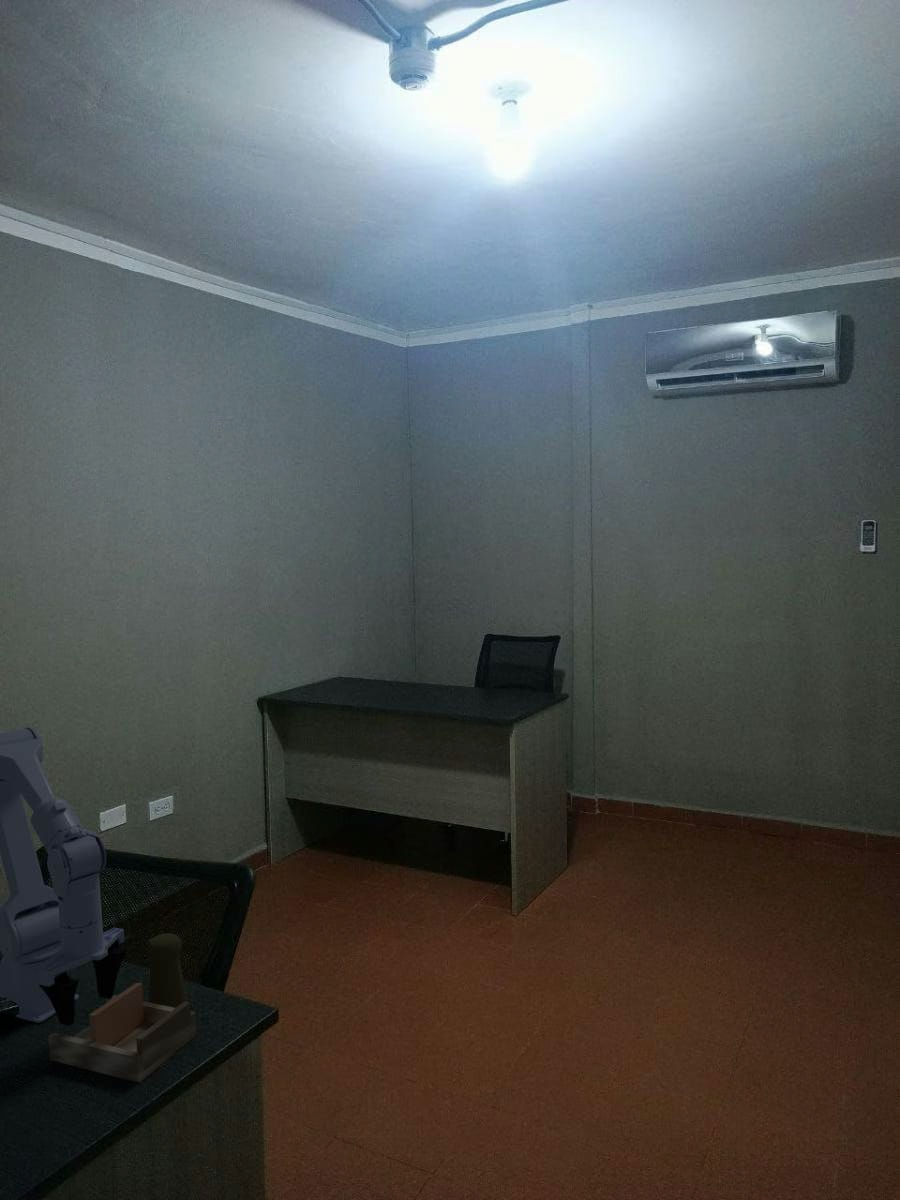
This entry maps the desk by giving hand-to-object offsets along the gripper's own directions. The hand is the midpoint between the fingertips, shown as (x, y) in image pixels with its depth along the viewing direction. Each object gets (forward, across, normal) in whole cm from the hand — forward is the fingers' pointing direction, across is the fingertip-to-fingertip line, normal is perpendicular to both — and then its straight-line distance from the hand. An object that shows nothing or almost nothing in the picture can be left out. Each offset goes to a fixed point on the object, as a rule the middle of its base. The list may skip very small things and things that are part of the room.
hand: (86, 1009), depth 129 cm
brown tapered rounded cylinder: (+5, +12, -5) cm, 13 cm away
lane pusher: (+3, 0, -6) cm, 7 cm away
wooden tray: (+4, 0, -7) cm, 8 cm away
